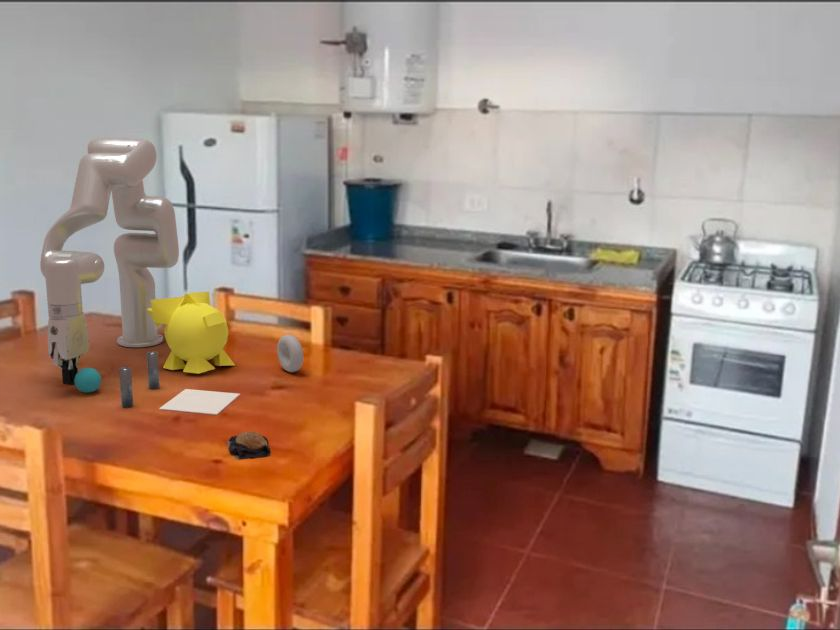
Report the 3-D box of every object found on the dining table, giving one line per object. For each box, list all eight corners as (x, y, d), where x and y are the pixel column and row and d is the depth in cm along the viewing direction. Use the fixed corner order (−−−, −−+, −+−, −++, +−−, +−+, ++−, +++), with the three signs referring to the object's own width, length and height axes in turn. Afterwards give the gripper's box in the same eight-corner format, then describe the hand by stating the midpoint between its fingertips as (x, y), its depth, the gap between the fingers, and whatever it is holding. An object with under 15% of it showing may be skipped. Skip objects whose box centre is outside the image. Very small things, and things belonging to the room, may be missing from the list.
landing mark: (185, 389, 210) (185, 388, 210) (240, 394, 208) (240, 393, 208) (158, 409, 197) (158, 408, 196) (216, 414, 194) (216, 414, 194)
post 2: (151, 385, 212) (149, 350, 210) (161, 386, 212) (159, 351, 210) (146, 388, 210) (144, 353, 208) (156, 389, 209) (154, 354, 207)
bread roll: (224, 443, 180) (223, 427, 179) (264, 439, 183) (264, 422, 182) (232, 463, 170) (232, 446, 170) (275, 458, 173) (274, 441, 173)
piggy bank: (197, 351, 241) (195, 283, 237) (247, 364, 231) (245, 294, 226) (138, 368, 225) (134, 296, 221) (189, 383, 215) (186, 308, 210)
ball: (78, 372, 209) (94, 359, 207) (95, 391, 210) (110, 378, 208) (64, 381, 203) (80, 368, 201) (81, 401, 204) (97, 388, 202)
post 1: (125, 403, 200) (122, 366, 197) (135, 404, 199) (133, 367, 197) (119, 407, 197) (117, 369, 195) (129, 408, 197) (127, 370, 195)
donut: (274, 368, 228) (274, 331, 226) (285, 365, 231) (285, 329, 228) (294, 377, 221) (294, 340, 219) (306, 375, 223) (306, 338, 221)
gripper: (60, 318, 194) (66, 395, 199) (97, 303, 209) (102, 375, 213) (30, 315, 196) (37, 392, 200) (69, 301, 210) (74, 373, 215)
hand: (70, 383), depth 207 cm, fingers closed
